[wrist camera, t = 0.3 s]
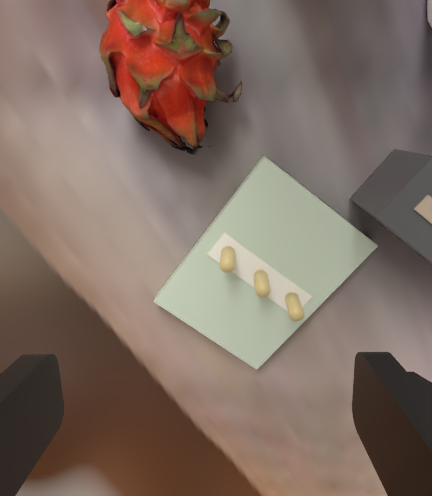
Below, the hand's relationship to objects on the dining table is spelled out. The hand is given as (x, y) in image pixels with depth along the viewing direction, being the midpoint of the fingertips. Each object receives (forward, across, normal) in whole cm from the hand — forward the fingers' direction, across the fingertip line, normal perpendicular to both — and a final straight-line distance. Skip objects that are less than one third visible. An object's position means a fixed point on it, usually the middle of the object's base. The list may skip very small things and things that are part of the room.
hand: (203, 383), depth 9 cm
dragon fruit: (+21, +3, -13) cm, 25 cm away
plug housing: (+22, -17, -1) cm, 28 cm away
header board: (+23, -3, +3) cm, 23 cm away
